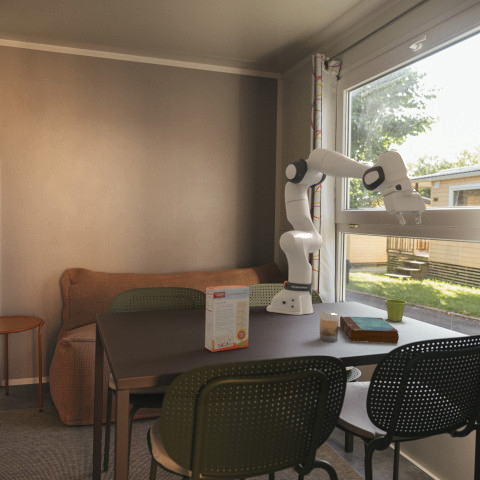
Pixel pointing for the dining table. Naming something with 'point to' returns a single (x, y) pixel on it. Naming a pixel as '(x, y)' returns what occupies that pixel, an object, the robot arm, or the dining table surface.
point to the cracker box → (227, 317)
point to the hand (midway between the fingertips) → (411, 223)
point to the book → (369, 329)
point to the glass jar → (329, 326)
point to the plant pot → (395, 309)
